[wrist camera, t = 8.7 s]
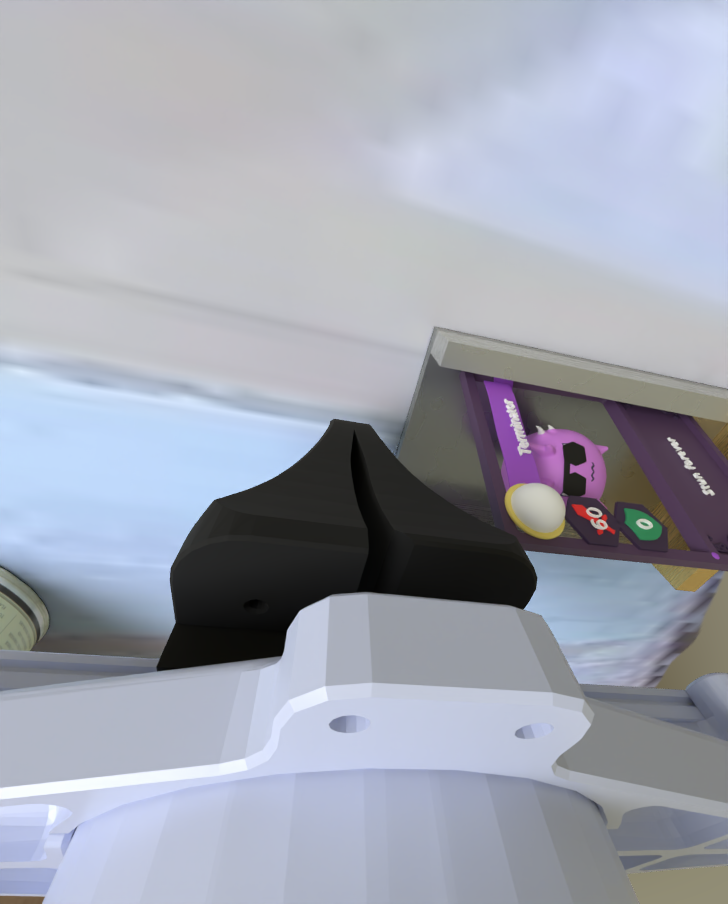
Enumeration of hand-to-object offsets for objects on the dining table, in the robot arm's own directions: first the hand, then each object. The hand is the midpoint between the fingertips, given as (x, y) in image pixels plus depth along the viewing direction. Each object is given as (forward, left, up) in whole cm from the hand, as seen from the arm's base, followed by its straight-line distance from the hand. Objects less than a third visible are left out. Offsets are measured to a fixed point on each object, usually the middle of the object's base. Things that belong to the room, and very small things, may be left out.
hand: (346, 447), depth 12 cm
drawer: (0, -9, -2) cm, 10 cm away
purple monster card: (+1, -8, -2) cm, 9 cm away
